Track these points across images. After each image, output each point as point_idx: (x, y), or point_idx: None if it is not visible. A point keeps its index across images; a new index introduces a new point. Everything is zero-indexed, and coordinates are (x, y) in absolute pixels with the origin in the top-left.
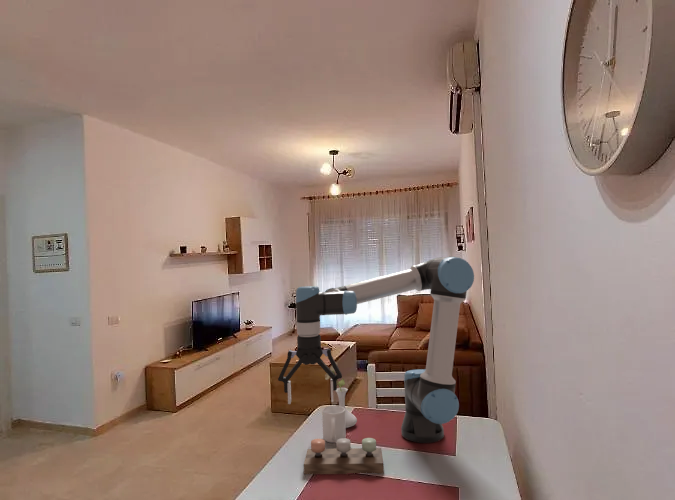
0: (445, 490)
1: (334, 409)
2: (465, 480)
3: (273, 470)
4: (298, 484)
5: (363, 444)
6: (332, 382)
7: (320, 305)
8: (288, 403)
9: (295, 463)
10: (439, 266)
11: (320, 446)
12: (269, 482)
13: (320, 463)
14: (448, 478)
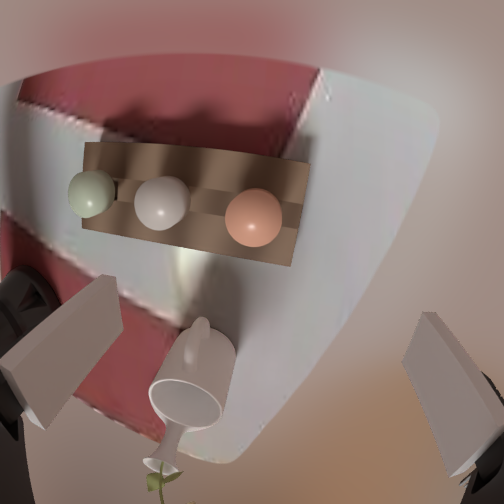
0: (32, 86)
1: (187, 416)
2: (5, 122)
3: (390, 208)
4: (324, 113)
5: (101, 181)
6: (6, 357)
7: None
8: (434, 315)
9: (328, 234)
10: None
11: (245, 191)
12: (400, 146)
13: (254, 157)
14: (18, 126)
